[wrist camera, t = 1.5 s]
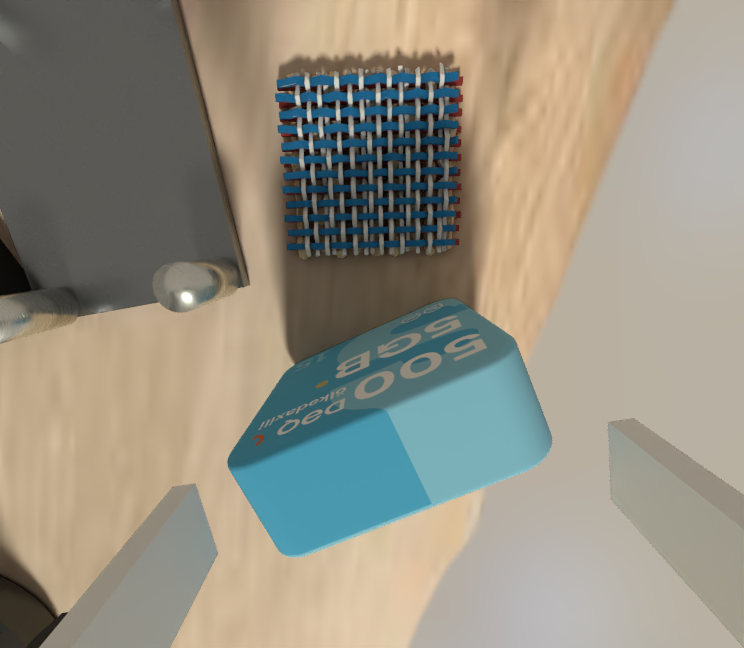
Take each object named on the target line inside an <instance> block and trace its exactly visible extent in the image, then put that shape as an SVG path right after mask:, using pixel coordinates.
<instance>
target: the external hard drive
mask: <svg viewBox="0 0 744 648" xmlns="http://www.w3.org/2000/svg"><path fill="white" fill-rule="evenodd" d="M29 291H32V289H31V286H30V284H29V281H28V279H27V276H26V274H25V271H24V269H23V268H22V267H21V265H20V264H19V263H18V262H17V260H16V259H15V258H14V256H13V255H12V254H11V252H10V251H9V250H8V248H7V247H6V246H5V245H4V243H3V242H2V241H1V239H0V296H1V295H8V294H15V293H22V292H29Z"/></svg>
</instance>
